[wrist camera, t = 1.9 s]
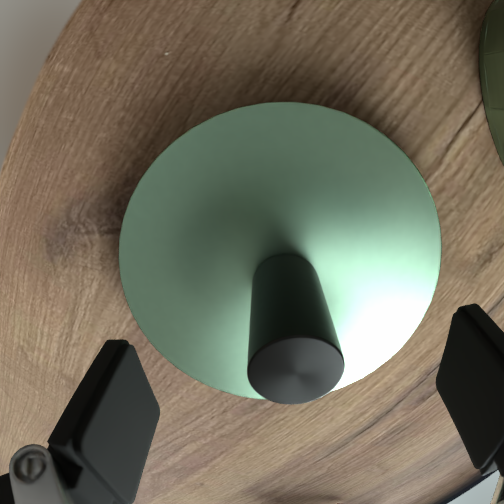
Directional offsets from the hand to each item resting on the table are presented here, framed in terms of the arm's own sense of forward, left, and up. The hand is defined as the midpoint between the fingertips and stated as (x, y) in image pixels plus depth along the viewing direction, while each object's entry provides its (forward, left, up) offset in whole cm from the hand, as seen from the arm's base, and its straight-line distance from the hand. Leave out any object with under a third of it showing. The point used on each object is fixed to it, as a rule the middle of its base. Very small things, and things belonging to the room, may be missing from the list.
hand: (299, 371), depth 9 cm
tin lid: (0, 0, -5) cm, 5 cm away
